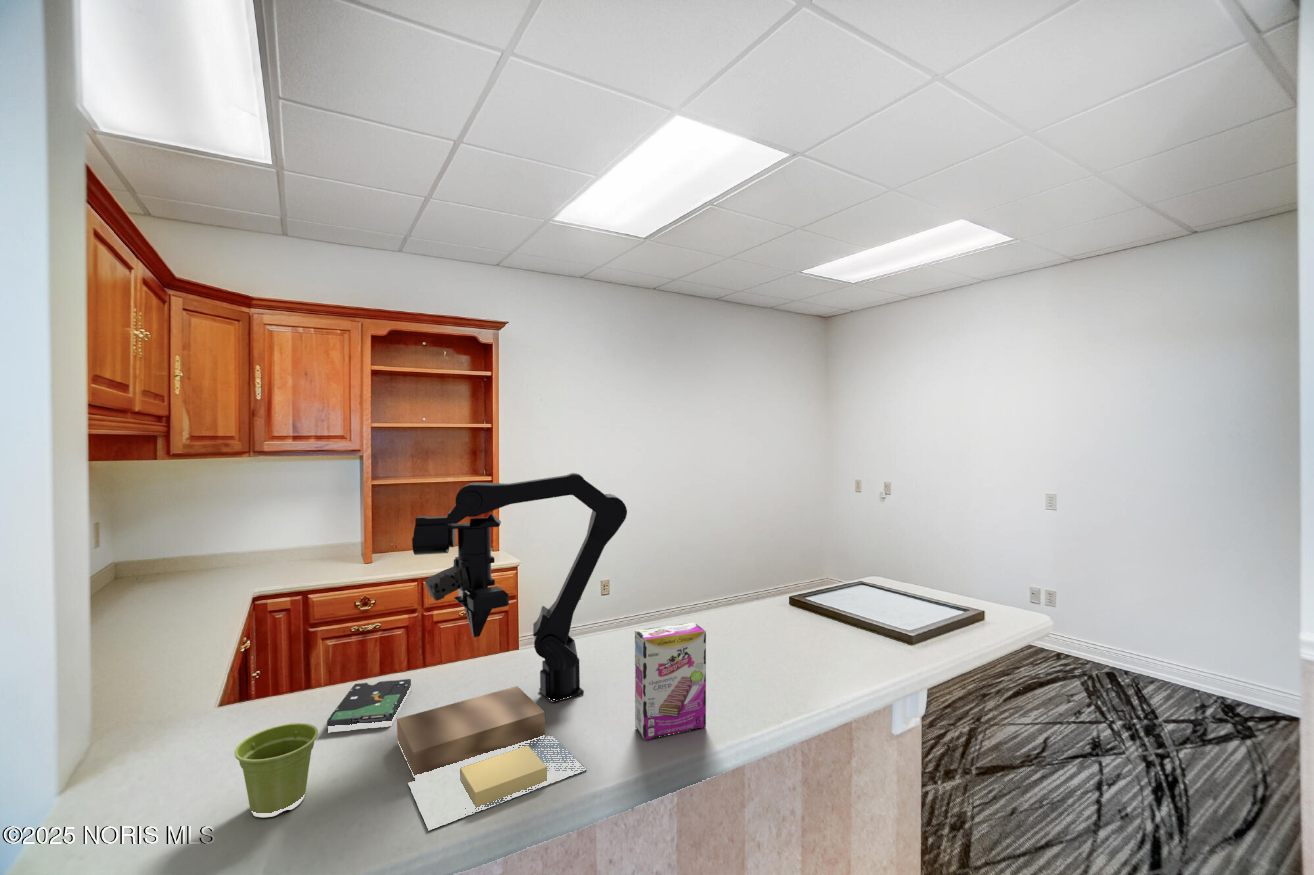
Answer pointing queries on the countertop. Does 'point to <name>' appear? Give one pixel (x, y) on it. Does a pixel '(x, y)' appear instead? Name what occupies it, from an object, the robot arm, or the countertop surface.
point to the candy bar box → (670, 679)
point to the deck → (469, 729)
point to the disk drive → (370, 703)
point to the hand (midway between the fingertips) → (476, 636)
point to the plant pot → (276, 765)
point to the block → (502, 775)
